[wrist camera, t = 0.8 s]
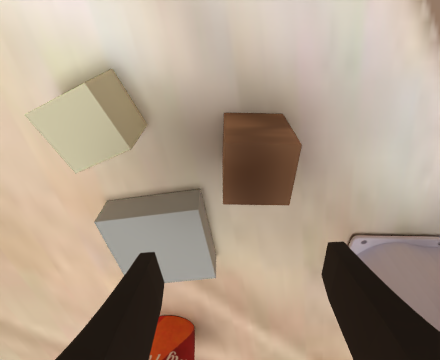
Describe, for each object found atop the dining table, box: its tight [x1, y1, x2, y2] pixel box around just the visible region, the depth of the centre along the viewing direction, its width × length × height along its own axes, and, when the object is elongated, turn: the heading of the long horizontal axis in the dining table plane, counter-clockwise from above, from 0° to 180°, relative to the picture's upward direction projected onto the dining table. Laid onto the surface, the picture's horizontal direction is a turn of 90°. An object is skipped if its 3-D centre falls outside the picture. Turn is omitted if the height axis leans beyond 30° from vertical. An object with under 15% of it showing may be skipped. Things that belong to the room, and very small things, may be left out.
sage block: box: [25, 69, 147, 173], centre depth 16 cm, size 4×4×4 cm
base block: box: [94, 189, 216, 283], centre depth 23 cm, size 8×8×3 cm
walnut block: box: [223, 113, 302, 205], centre depth 17 cm, size 4×4×5 cm
